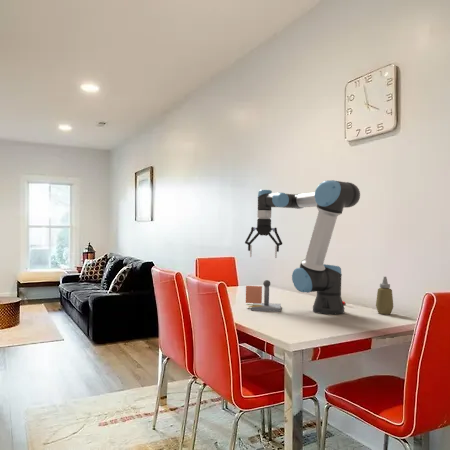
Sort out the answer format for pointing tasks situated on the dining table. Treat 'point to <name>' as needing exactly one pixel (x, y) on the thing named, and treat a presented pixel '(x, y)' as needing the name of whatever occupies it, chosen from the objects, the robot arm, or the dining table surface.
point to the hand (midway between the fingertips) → (263, 257)
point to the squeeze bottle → (384, 298)
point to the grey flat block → (265, 307)
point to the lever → (258, 293)
